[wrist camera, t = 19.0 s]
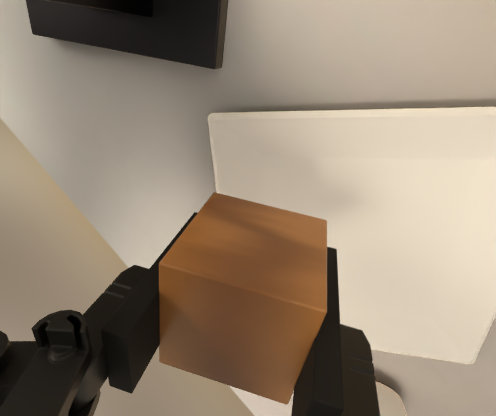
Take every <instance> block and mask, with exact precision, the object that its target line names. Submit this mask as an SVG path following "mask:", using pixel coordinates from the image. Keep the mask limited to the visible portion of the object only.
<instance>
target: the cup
mask: <svg viewBox="0 0 496 416" xmlns="http://www.w3.org/2000/svg"><path fill="white" fill-rule="evenodd" d="M376 388H377V395H378V402H379V410H380V416H407V414H406V411H405V408H404V404H403V401H402V399H401V398H400V396H399V394H397V393H396V392H395V391H393V390H392V389H391V388H389V387H387V386H385V385H383V384H382V383H379V382H376Z"/></svg>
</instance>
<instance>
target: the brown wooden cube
mask: <svg viewBox="0 0 496 416" xmlns="http://www.w3.org/2000/svg"><path fill="white" fill-rule="evenodd" d="M326 313H327V220H324V219H320V218H316V217H312V216H308V215H304V214H300V213H296V212H292V211H288V210H284V209H280V208H276V207H272V206H268V205H264V204H260V203H256V202H252V201H248V200H244V199H240V198H236V197H232V196H228V195H224V194H220V193H216V192H215V193H213V194H212V195H211V197H210V198H209V199H208V201H207V202H206V203H205V204H204V206H203V207H202V208H201V210H200V211H199V212H198V214H197V215H196V216H195V217H194V219H193V220H192V221H191V223H190V224H189V225H188V226H187V228H186V229H185V230H184V232H183V233H182V234H181V235H180V237H179V238H178V239H177V241H176V242H175V243H174V244H173V246H172V247H171V248H170V250H169V251H168V252H167V253H166V255H165V256H164V257H163V259H162V260H161V261H160V263H159V322H160V344H159V360H160V362H161V363H164V364H167V365H170V366H173V367H176V368H179V369H182V370H185V371H188V372H191V373H194V374H197V375H200V376H203V377H206V378H209V379H212V380H215V381H218V382H221V383H224V384H227V385H230V386H233V387H236V388H239V389H242V390H245V391H248V392H251V393H254V394H257V395H260V396H263V397H266V398H269V399H272V400H275V401H278V402H281V403H284V404H288V403H289V401H290V398H291V396H292V394H293V391H294V387H295V385H296V382H297V380H298V378H299V375H300V373H301V370H302V368H303V366H304V363H305V361H306V358H307V356H308V354H309V351H310V349H311V346H312V344H313V342H314V339H315V337H316V336H317V334H318V332H319V330H320V327H321V325H322V322H323V320H324V318H325V315H326Z"/></svg>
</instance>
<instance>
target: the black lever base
mask: <svg viewBox="0 0 496 416" xmlns="http://www.w3.org/2000/svg"><path fill="white" fill-rule="evenodd" d="M26 3H27V8H28V13H29V18H30V23H31V28H32V33H33V34H34V35H39V36H44V37H50V38H55V39H60V40H65V41H70V42H76V43H81V44H86V45H91V46H96V47H102V48H107V49H112V50H117V51H122V52H128V53H133V54H138V55H143V56H148V57H154V58H159V59H164V60H169V61H174V62H180V63H185V64H190V65H195V66H201V67H206V68H211V69H217V68H221V67H222V57H223V46H224V36H225V25H226V14H227V3H228V0H26Z"/></svg>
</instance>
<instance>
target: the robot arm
mask: <svg viewBox="0 0 496 416" xmlns="http://www.w3.org/2000/svg"><path fill="white" fill-rule="evenodd" d="M197 214H198V213H196V212H194V214H193V215H192V216H191V218H190V219H189V220H188V221H187V223H186V224H185V225H184V226H183V228H182V229H181V230H180V231H179V233H178V234H177V235H176V236H175V238H174V239H173V240H172V241H171V243H170V244H169V245H168V246H167V248H166V249H165V250H164V251H163V253H162V254H161V255H160V256H159V258H158V259H157V260H156V261H155V263H154V264H153V265H152V266H151V268H150V269H147V268H144V267H140V266H137V265H133V266H132V267H130V268H128V269H126V270H125V271H123V272H122V273H121V274H120V275H119V276H118V277H117V278H116V279H115V280H114V281H113V283H112V285H110V286H109V287H108V288H107V289H106V290H105V292H104V293H102V295H101V296H100V297H99V298H98V299H97V300H96V301H95V302H94V303H93V304H92V305H91V306H90V308H89V309H88V310H87V311H86V312H85V313H84V314H83V315H82V314H81V313H80V312H77V311H73V310H64V311H58V312H55V313H52V314H49V315H47V316H46V317H44V318H43V319H41V320H39V321H38V322H37V323H36V324H35V325H34V326H33V327H32V331H33V334H34V337H35V340H36V341H13V342H12V341H11V342H9V340H8V337H7V335H6V334H5V333H3V332H1V331H0V416H93V415H94V412H95V409H96V407H97V404H98V402H99V397H100V388H101V386H102V385H103V383H104V382H105V380H106V379H107V377H108V378H109V384H110V386H112V387H115V388H117V389H121V390H123V391H126V392H129V393H132V392H133V390H134V389H135V387H136V385H137V383H138V381H139V380H140V378H141V376H142V374H143V372H144V371H145V369H146V367H147V366H148V364H149V362H150V360H151V359H152V357H153V355H154V353H155V351H156V349H157V348H158V346H159V344H160V322H159V263H160V261H161V260H162V259H163V257H164V256H165V255H166V253H167V252H168V251H169V250H170V248H171V247H172V246H173V244H174V243H175V242H176V241H177V239H178V238H179V237H180V235H181V234H182V233H183V232H184V230H185V229H186V228H187V226H188V225H189V224H190V223H191V221H192V220H193V219H194V217H195V216H196V215H197ZM292 416H380V410H379V402H378V395H377V388H376V381H375V376H374V367H373V363H372V353H371V346H370V344H369V342H368V340H367V338H366V336H365V334H364V332H363V331H362V330H360V329H356V328H353V327H349V326H346V325H343V324H340V311H339V288H338V266H337V249H335V248H331V247H327V313H326V315H325V318H324V320H323V322H322V325H321V327H320V330H319V332H318V334H317V336H316V337H315V339H314V342H313V344H312V346H311V349H310V351H309V354H308V356H307V358H306V361H305V363H304V366H303V368H302V370H301V373H300V375H299V378H298V380H297V382H296V385H295V387H294V396H293V406H292Z"/></svg>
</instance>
